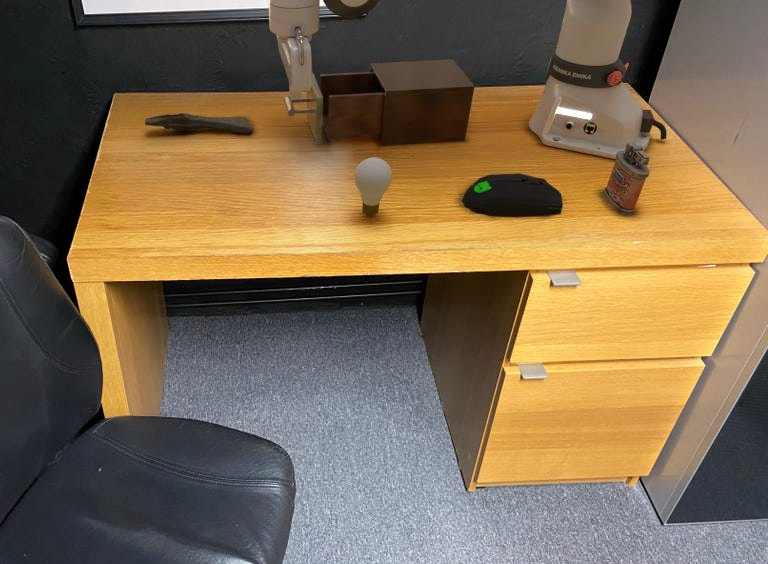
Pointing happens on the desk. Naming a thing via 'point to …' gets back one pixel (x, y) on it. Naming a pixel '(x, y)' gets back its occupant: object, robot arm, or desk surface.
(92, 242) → the desk surface
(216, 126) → the tool
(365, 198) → the light bulb
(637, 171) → the lighter
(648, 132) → the robot arm
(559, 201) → the computer mouse
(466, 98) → the cabinet
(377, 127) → the drawer
